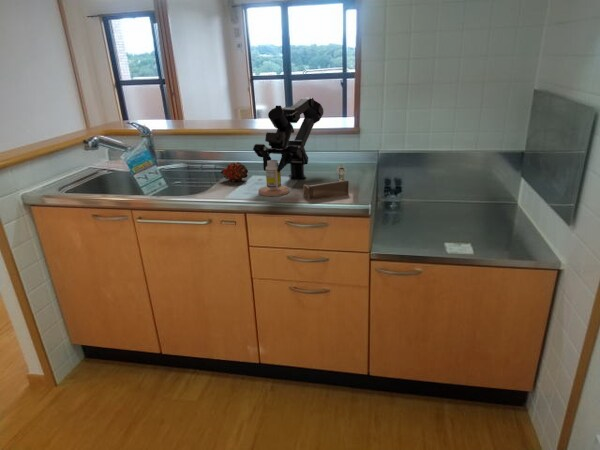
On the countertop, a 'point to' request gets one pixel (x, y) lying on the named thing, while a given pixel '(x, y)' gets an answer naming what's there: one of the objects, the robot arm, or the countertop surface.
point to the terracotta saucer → (274, 191)
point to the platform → (341, 173)
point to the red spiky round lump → (235, 172)
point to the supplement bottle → (273, 175)
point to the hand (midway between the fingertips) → (271, 170)
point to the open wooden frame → (326, 189)
